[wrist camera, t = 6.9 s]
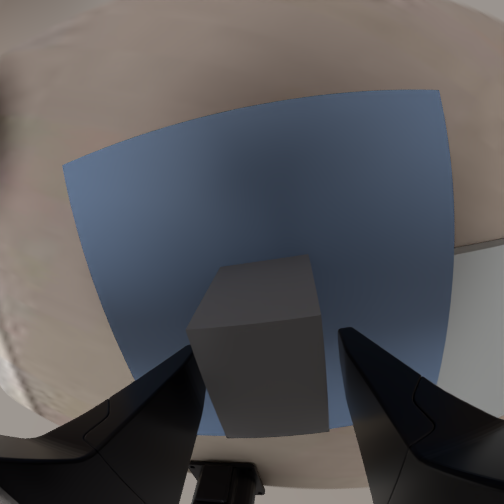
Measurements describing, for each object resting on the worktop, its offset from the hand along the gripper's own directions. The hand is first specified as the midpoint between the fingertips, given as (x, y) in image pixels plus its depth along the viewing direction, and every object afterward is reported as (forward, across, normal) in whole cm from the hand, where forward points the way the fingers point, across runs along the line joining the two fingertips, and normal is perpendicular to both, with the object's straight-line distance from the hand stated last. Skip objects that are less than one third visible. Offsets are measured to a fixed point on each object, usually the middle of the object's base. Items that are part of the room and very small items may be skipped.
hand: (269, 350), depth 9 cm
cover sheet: (+3, 0, 0) cm, 3 cm away
